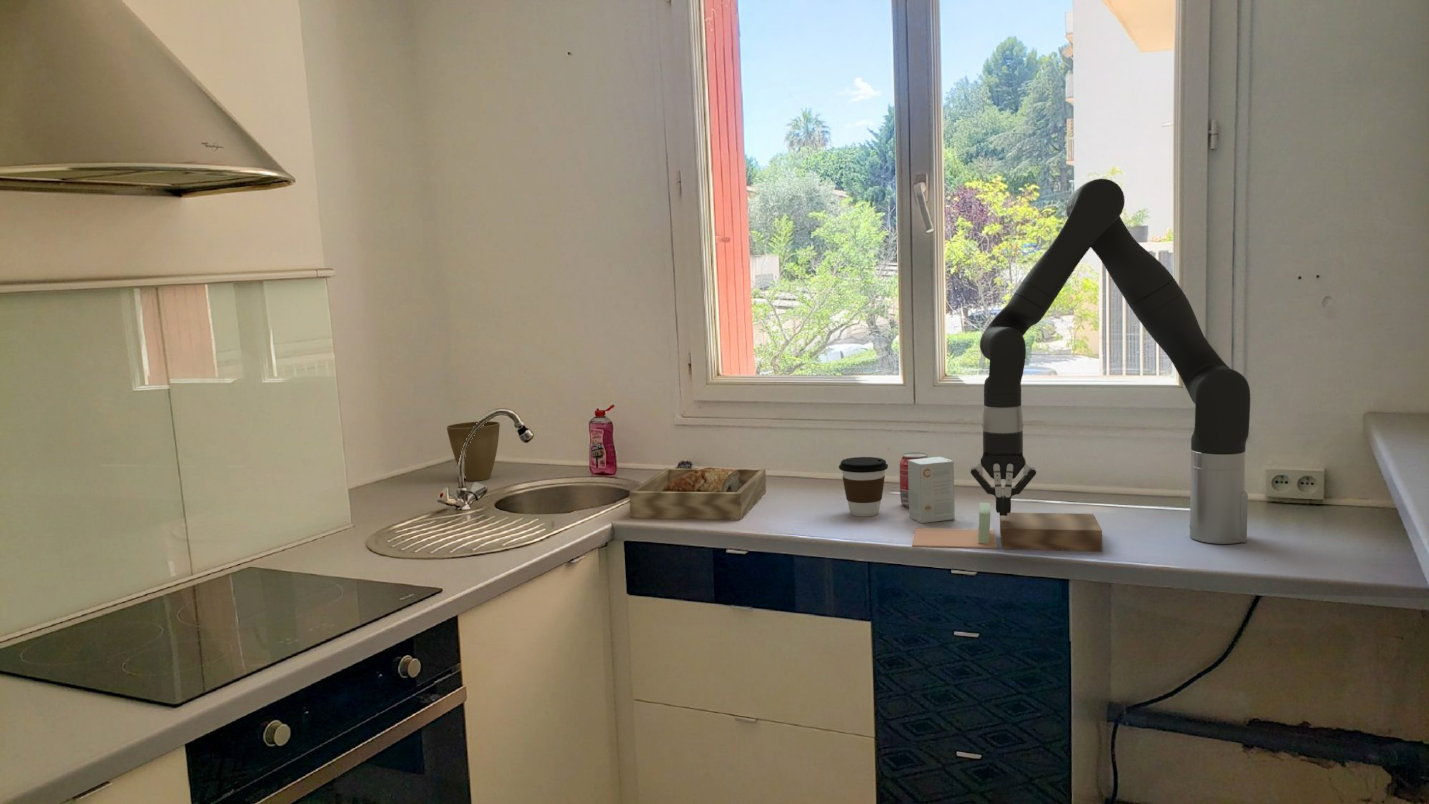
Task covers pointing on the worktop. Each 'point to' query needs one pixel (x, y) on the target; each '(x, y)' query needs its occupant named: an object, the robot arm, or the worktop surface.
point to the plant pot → (475, 448)
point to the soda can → (904, 474)
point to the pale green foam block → (984, 523)
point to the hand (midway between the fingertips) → (1003, 514)
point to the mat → (951, 538)
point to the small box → (931, 489)
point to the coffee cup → (863, 484)
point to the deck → (1050, 531)
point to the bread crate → (696, 498)
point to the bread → (705, 481)
